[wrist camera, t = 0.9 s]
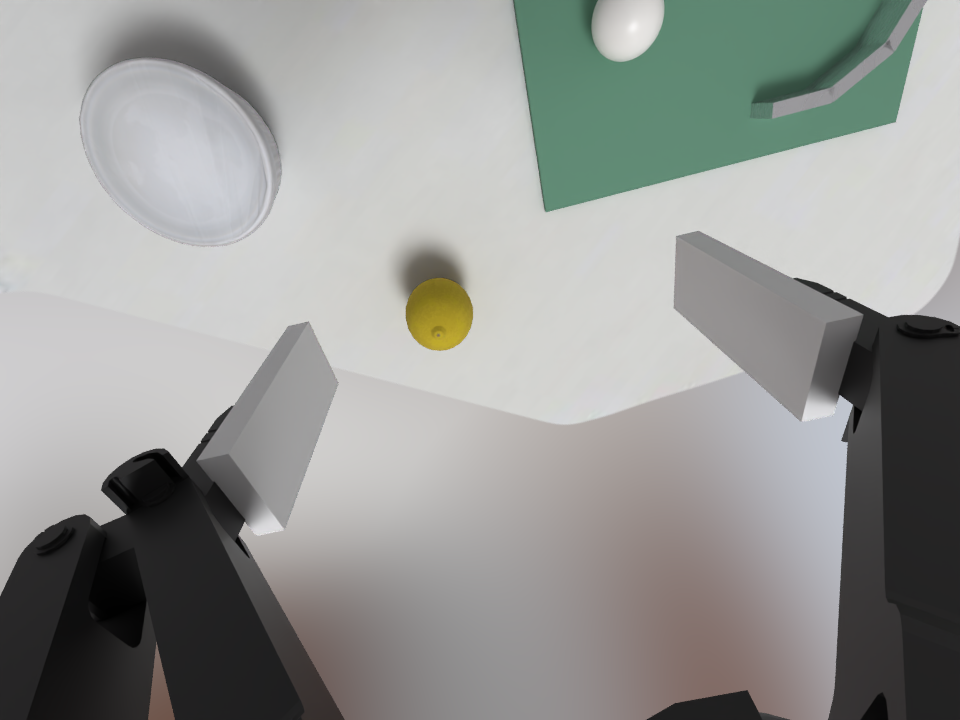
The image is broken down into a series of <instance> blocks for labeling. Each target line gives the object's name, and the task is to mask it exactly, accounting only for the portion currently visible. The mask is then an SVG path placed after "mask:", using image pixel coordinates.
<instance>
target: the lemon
mask: <svg viewBox="0 0 960 720" xmlns="http://www.w3.org/2000/svg"><path fill="white" fill-rule="evenodd" d="M472 320H473V307H472V304H471V301H470V298H469V296H468V294H467V293H466V291H465V290H464V289H463V288H462V287H461V286H460V285H459V284H458V283H456V282H454V281H452V280H449V279H445V278H433V279H429V280H427V281H425V282H423V283H421V284H420V285H419V286H417V287H416V288H415V289H414V290H413V292H412V294H411V295H410V297H409V299H408V302H407V306H406V321H407V325H408V329H409V331H410V332H411V334H412V336H413V337H414V339H415V340H416V341H417V342H418V343H419V344H421V345H422V346H424V347H426V348H428V349H432V350H439V351H441V350H448V349H450V348H453V347H455V346H456V345H458V344H459V343H461V342H462V341H463V339H464V338H465V337H466V336H467V334H468V332H469V330H470V328H471V324H472Z"/></svg>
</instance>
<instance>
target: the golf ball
mask: <svg viewBox="0 0 960 720" xmlns="http://www.w3.org/2000/svg"><path fill="white" fill-rule="evenodd" d="M663 19H664V0H598V1H597V3H596V6H595V8H594V12H593V16H592V24H591V30H592V37H593V41H594V43H595V46H596V47H597V49H598V51H599V52H600V53H601V54H602V55H603V56H604V57H606V58H607V59H609V60H612V61H616V62H625V61H629V60H632V59H634V58H636V57H638V56H640V55H641V54H643V53H644V52H645V51H646V50H647V49H648V48H649V47H650V46H651V45H652V43H653V42H654V41H655V39H656V37H657V36H658V33H659V31H660V29H661V26H662V23H663Z"/></svg>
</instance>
